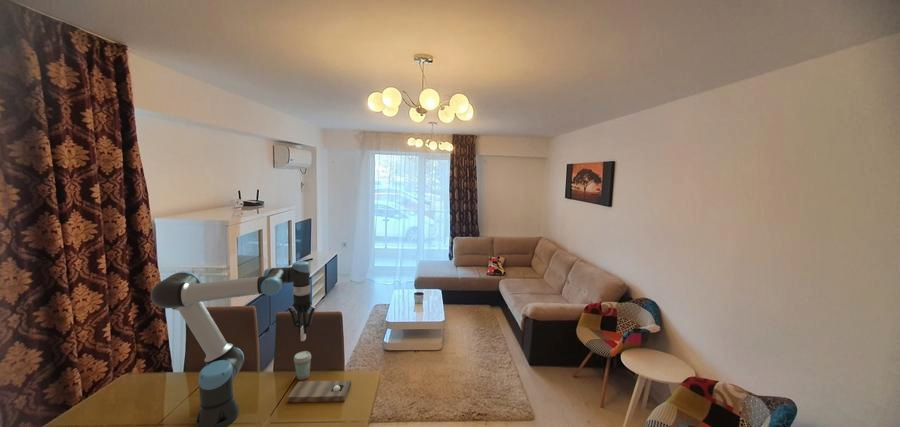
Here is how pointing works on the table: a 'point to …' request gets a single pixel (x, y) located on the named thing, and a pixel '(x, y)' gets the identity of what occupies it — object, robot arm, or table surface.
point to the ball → (336, 388)
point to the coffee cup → (302, 364)
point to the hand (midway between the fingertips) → (303, 339)
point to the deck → (319, 391)
